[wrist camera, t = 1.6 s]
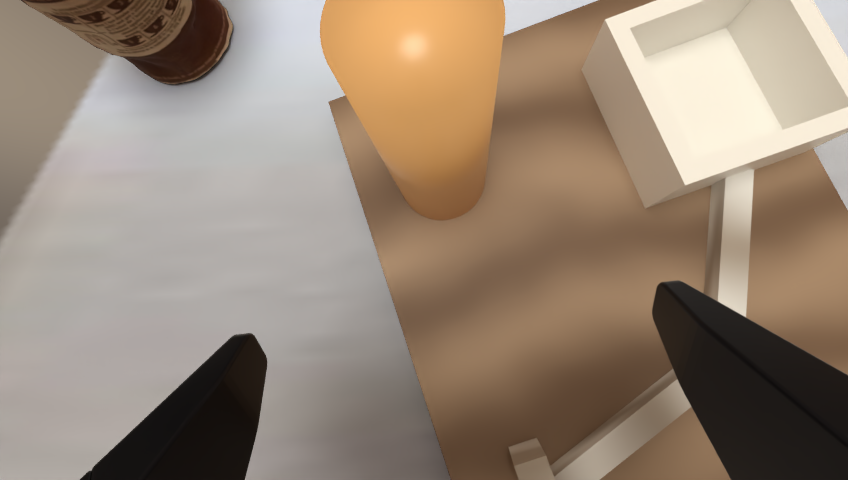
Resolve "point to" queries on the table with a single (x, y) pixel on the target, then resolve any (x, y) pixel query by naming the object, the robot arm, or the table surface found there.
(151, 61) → the coffee cup
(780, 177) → the cable board
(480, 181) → the tan cylinder
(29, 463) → the table surface
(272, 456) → the table surface
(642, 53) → the end holder
